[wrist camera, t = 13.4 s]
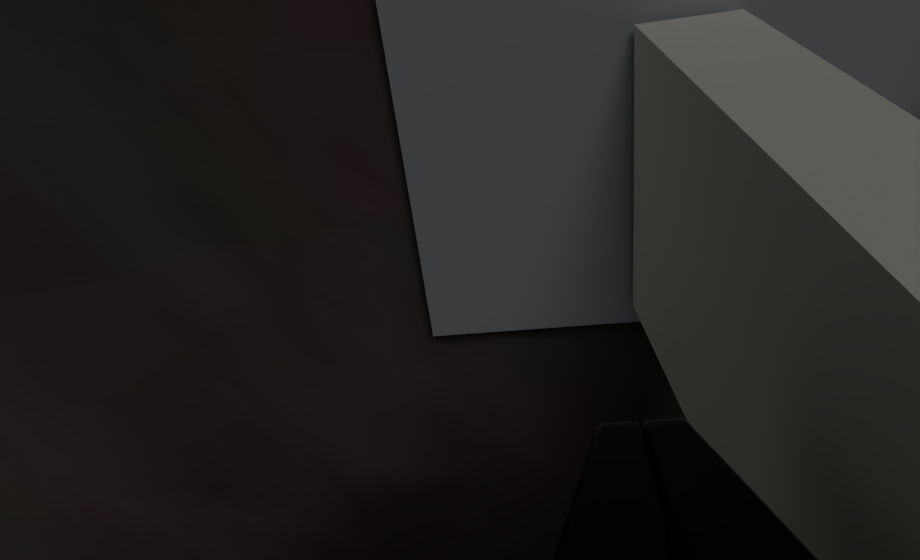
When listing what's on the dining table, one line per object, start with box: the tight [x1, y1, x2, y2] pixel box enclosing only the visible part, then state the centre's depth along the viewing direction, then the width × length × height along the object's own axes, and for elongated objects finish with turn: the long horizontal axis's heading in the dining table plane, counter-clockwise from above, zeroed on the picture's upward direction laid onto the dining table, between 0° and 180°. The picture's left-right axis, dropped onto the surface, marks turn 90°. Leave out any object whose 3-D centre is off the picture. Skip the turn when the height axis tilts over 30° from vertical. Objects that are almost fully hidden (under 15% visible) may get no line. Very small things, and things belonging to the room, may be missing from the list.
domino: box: [633, 9, 920, 560], centre depth 9 cm, size 2×5×9 cm, turn 7°
